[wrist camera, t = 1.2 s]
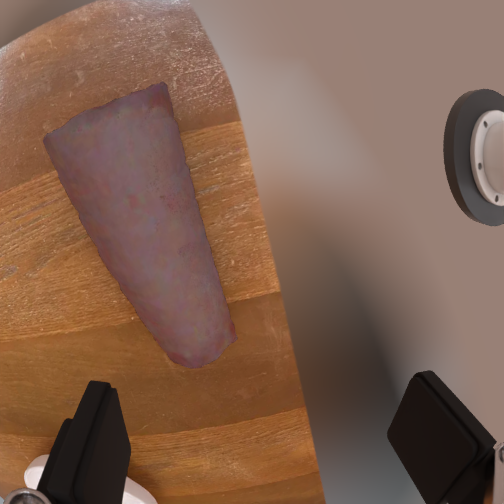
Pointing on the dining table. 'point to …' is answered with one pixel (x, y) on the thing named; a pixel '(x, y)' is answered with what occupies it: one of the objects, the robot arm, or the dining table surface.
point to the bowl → (134, 497)
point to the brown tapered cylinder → (146, 219)
